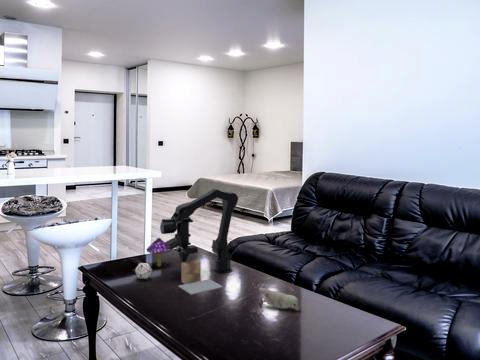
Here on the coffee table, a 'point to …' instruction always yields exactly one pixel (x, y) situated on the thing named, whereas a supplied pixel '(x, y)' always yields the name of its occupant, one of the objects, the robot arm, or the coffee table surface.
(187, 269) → the brown wooden block
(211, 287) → the rubber mat
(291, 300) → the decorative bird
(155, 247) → the decorative mushroom
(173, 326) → the coffee table surface
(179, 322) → the coffee table surface
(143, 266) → the game die
